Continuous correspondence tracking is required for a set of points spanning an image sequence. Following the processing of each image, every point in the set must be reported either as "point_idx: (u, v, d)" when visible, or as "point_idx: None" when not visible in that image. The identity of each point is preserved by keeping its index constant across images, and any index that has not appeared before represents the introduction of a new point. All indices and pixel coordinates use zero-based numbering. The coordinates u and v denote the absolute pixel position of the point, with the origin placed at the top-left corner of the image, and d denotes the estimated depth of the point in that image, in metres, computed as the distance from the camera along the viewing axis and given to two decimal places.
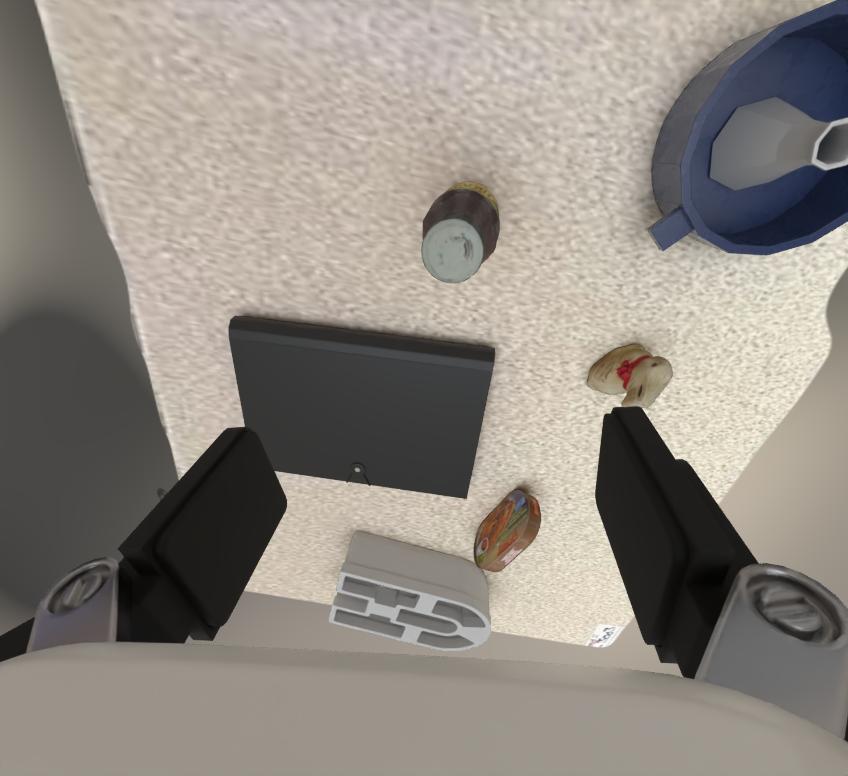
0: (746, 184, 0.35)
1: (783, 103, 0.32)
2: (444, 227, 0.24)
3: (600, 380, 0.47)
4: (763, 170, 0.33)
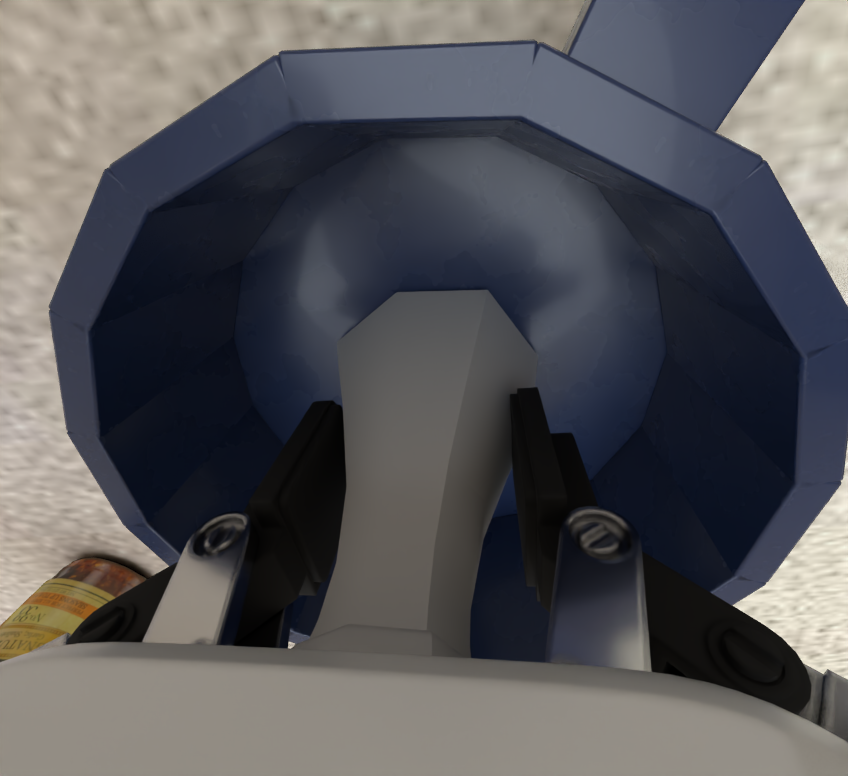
0: None
1: (391, 331, 0.11)
2: None
3: None
4: None
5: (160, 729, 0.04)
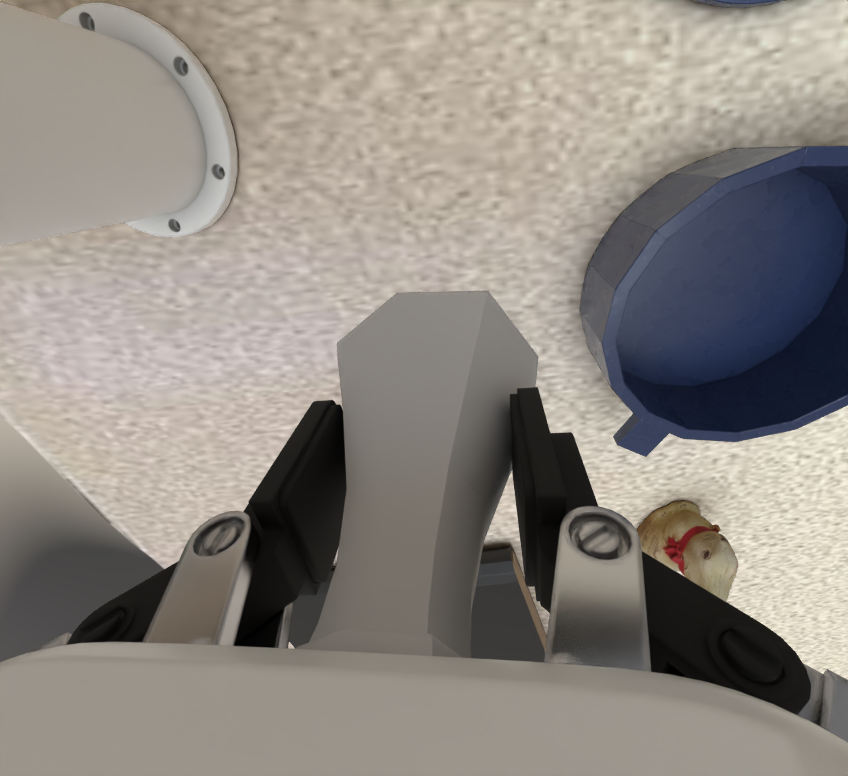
0: None
1: (391, 332, 0.11)
2: None
3: None
4: None
5: (160, 729, 0.04)
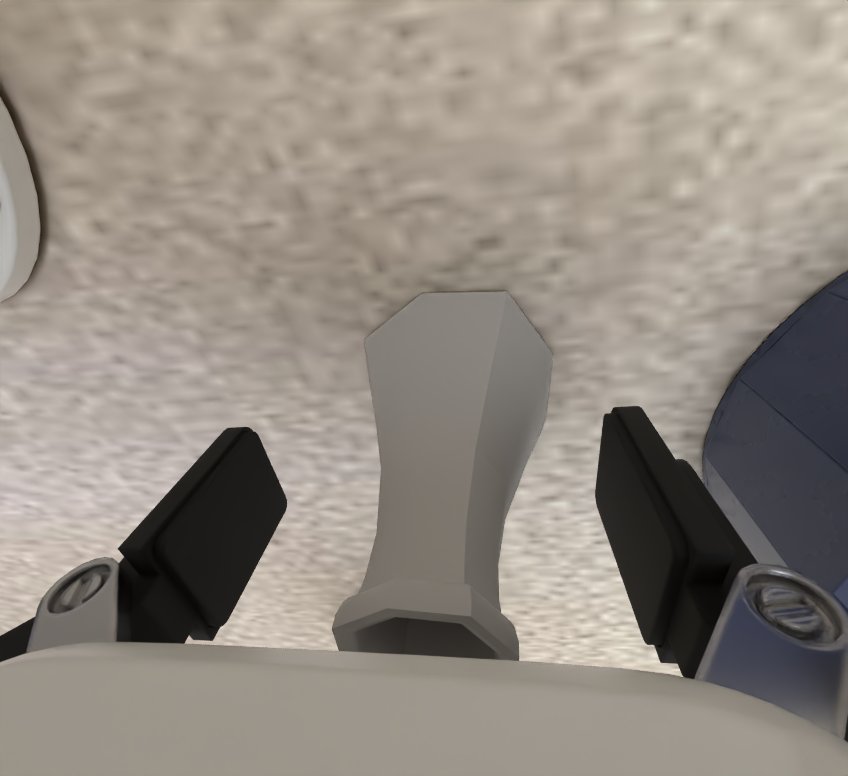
0: None
1: (418, 329, 0.12)
2: None
3: None
4: None
5: (160, 729, 0.04)
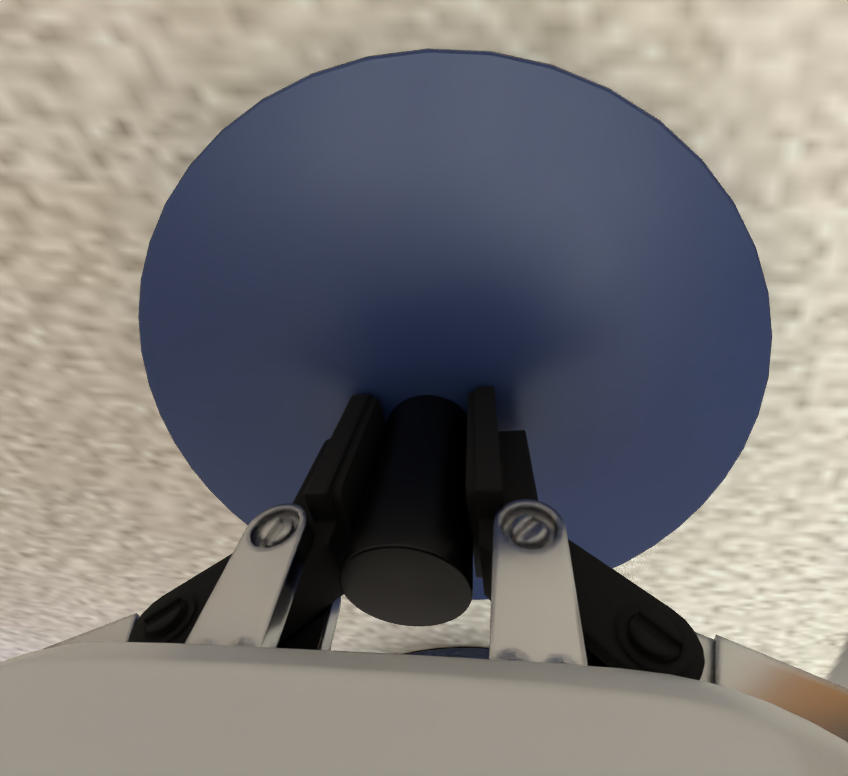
0: None
1: None
2: None
3: None
4: None
5: (160, 729, 0.04)
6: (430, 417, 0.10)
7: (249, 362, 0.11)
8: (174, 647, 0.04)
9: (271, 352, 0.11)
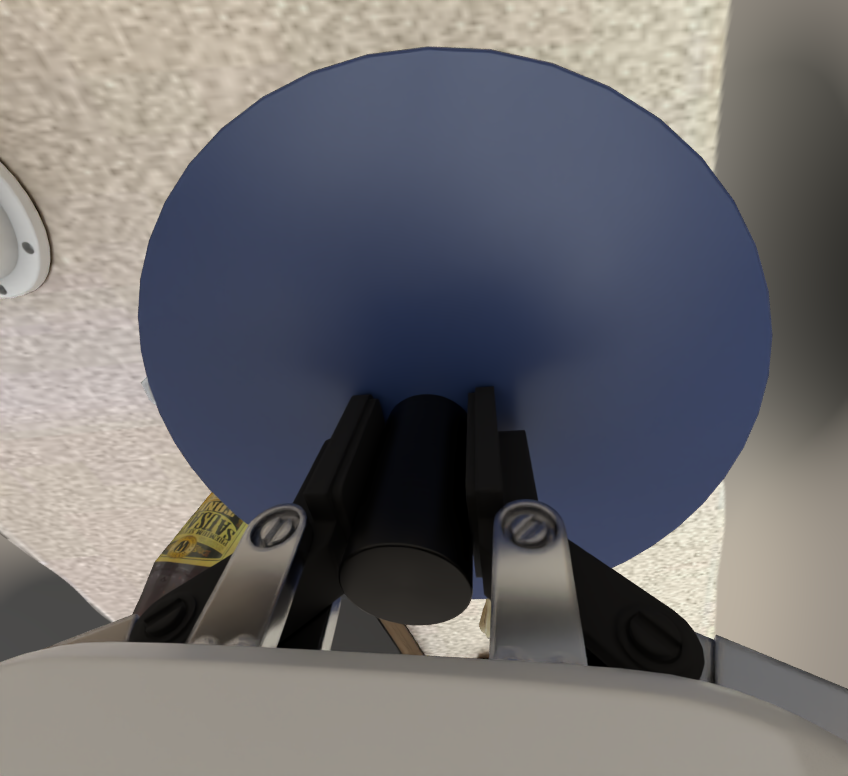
0: None
1: None
2: None
3: None
4: None
5: (160, 729, 0.04)
6: (430, 416, 0.10)
7: (249, 361, 0.11)
8: (174, 647, 0.04)
9: (271, 351, 0.11)
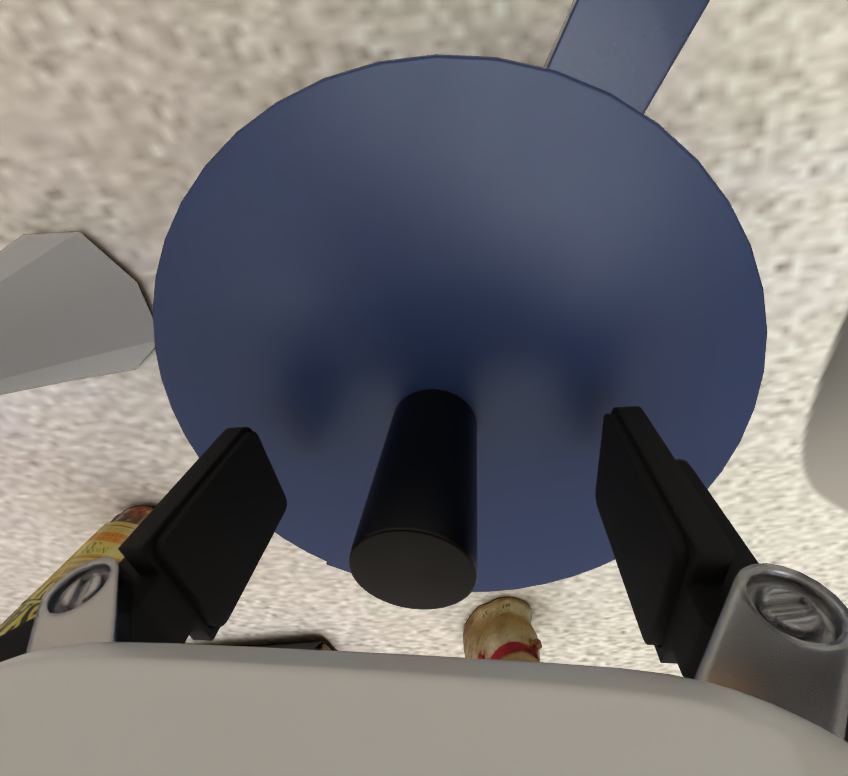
0: (100, 375, 0.19)
1: None
2: None
3: None
4: None
5: (160, 729, 0.04)
6: (435, 410, 0.10)
7: (259, 357, 0.11)
8: (174, 647, 0.04)
9: (281, 347, 0.11)
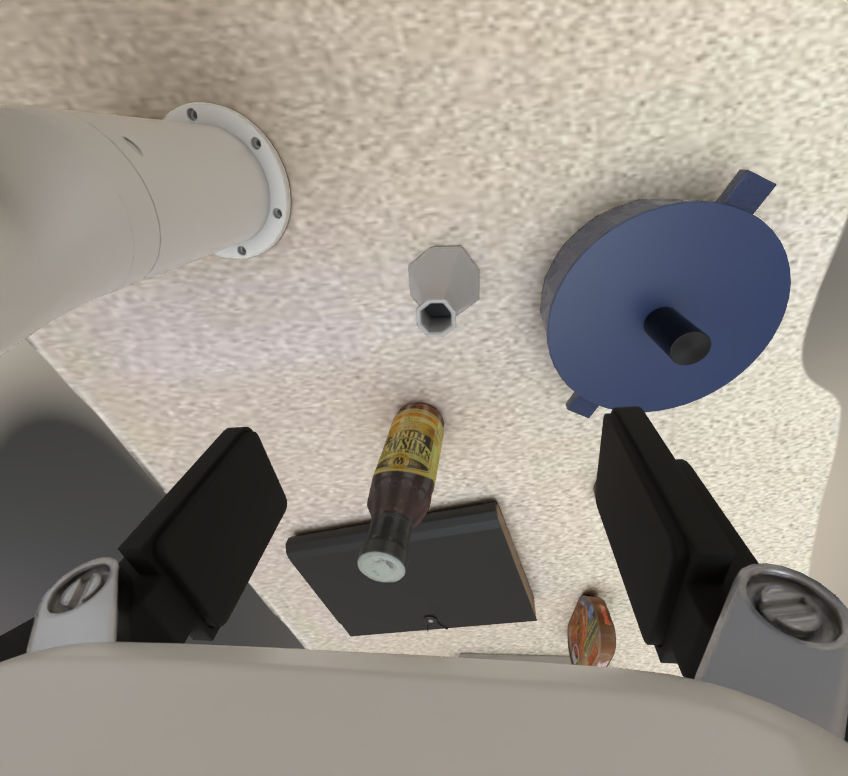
0: None
1: (430, 258, 0.35)
2: (366, 558, 0.30)
3: None
4: (439, 318, 0.36)
5: (160, 729, 0.04)
6: (673, 311, 0.29)
7: (599, 295, 0.31)
8: (174, 647, 0.04)
9: (610, 291, 0.30)
